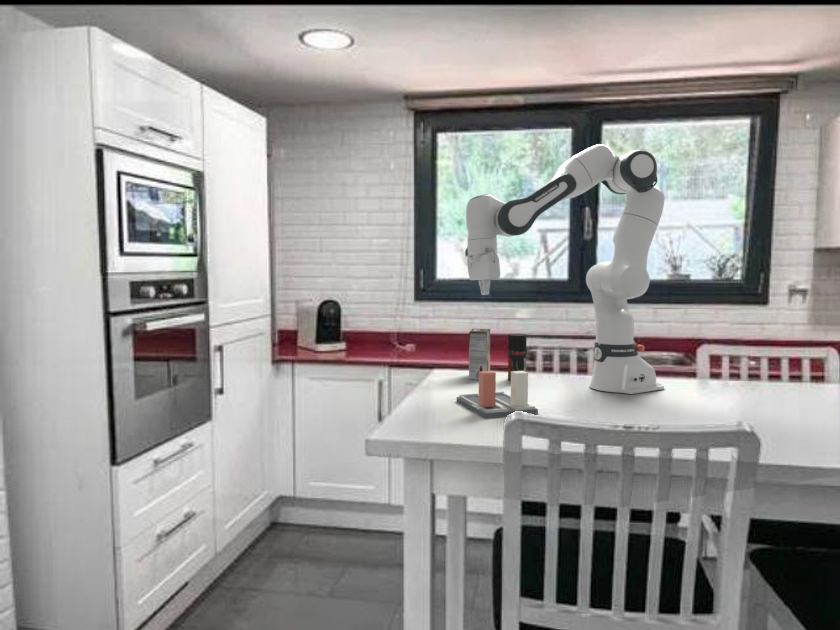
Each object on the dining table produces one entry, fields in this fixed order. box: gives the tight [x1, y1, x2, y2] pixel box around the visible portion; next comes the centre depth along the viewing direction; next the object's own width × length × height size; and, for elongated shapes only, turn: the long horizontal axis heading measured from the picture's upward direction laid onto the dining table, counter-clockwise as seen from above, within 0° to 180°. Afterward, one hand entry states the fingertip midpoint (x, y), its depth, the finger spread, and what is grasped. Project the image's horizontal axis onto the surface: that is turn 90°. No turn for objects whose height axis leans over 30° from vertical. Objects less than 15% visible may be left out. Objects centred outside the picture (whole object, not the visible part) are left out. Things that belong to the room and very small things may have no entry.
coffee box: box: [468, 328, 491, 380], centre depth 216 cm, size 9×6×16 cm
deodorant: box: [507, 333, 528, 381], centre depth 212 cm, size 6×6×15 cm
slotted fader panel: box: [456, 391, 539, 419], centre depth 174 cm, size 15×20×2 cm
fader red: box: [478, 370, 497, 407], centre depth 169 cm, size 4×3×9 cm
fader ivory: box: [510, 371, 529, 407], centre depth 169 cm, size 4×3×9 cm
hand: (485, 294), depth 194 cm, fingers closed
